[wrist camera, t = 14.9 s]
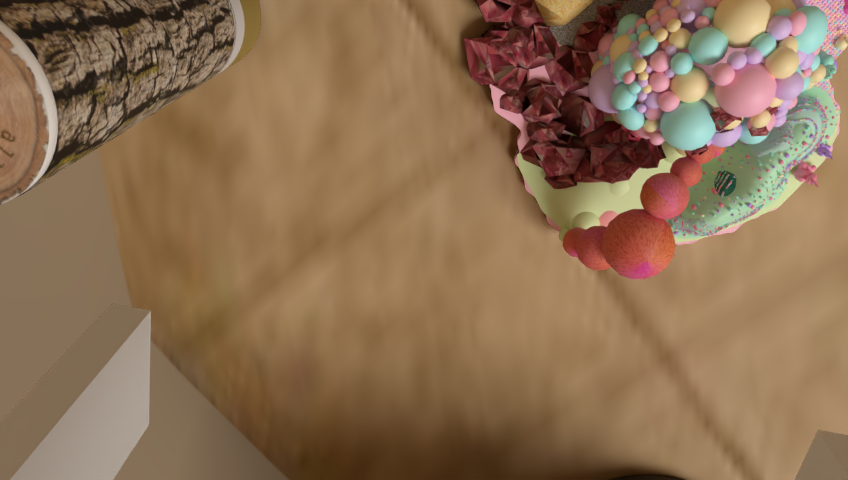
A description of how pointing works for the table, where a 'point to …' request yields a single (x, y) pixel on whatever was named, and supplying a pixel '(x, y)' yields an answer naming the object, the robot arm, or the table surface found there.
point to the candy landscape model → (661, 114)
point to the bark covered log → (102, 72)
